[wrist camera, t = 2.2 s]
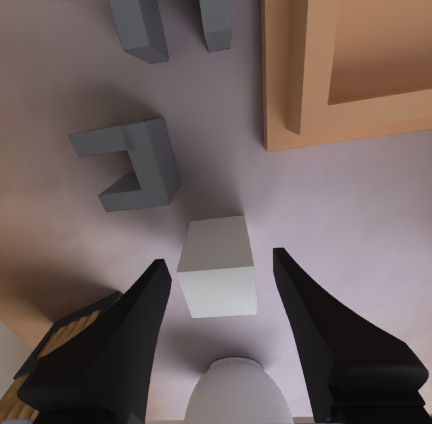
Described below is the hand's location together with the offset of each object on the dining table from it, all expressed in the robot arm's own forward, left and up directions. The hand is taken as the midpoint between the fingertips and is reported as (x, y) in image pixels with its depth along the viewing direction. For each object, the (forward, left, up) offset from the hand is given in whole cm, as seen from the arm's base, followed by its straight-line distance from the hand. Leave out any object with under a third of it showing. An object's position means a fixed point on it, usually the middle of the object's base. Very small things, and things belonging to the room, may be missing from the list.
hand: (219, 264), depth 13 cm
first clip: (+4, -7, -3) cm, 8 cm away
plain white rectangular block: (0, 0, -3) cm, 3 cm away
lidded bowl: (+1, +22, -3) cm, 22 cm away
